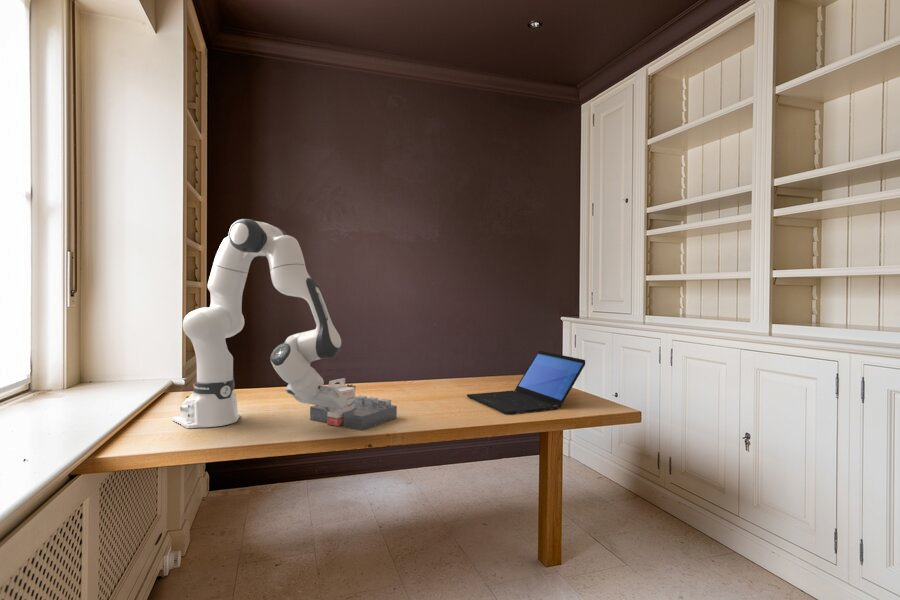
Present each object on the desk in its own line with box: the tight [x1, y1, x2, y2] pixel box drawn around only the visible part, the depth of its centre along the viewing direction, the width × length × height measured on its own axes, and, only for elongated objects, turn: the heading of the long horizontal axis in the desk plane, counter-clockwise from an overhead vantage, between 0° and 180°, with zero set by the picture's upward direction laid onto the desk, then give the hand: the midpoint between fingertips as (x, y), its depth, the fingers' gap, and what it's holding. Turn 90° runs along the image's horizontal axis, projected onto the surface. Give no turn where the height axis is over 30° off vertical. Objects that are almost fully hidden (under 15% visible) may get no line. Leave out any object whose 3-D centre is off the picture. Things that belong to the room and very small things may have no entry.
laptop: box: [466, 350, 586, 415], centre depth 200 cm, size 33×38×19 cm
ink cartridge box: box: [326, 377, 356, 427], centre depth 164 cm, size 9×5×15 cm, turn 150°
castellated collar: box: [309, 394, 398, 431], centre depth 170 cm, size 24×18×6 cm
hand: (331, 410), depth 160 cm, fingers closed, pressing on ink cartridge box
